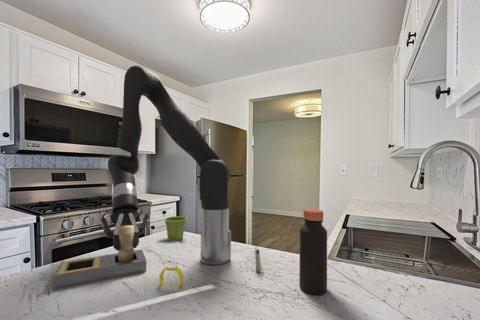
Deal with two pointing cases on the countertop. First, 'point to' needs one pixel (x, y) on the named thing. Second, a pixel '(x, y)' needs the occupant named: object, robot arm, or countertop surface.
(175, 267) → the watch
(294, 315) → the countertop surface
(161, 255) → the countertop surface
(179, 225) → the plant pot
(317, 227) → the bottle
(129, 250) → the peg
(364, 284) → the countertop surface
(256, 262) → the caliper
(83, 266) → the base plate
